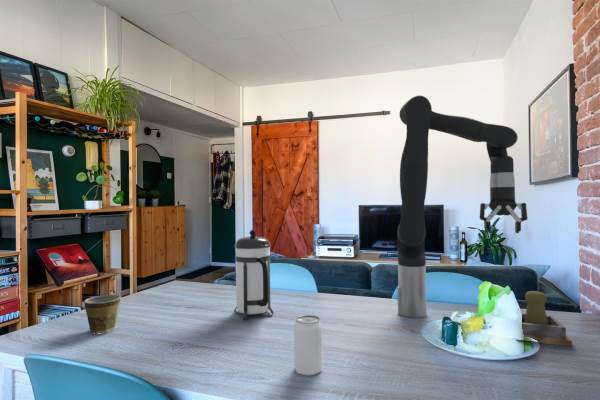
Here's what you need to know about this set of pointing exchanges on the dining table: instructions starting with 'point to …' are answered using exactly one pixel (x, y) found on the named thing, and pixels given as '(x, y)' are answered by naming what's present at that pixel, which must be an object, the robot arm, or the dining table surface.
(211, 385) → the dining table surface
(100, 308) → the ceramic cup
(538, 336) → the brown wooden tray
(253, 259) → the coffee press
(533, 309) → the cork
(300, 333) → the can
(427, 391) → the dining table surface
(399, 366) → the dining table surface
